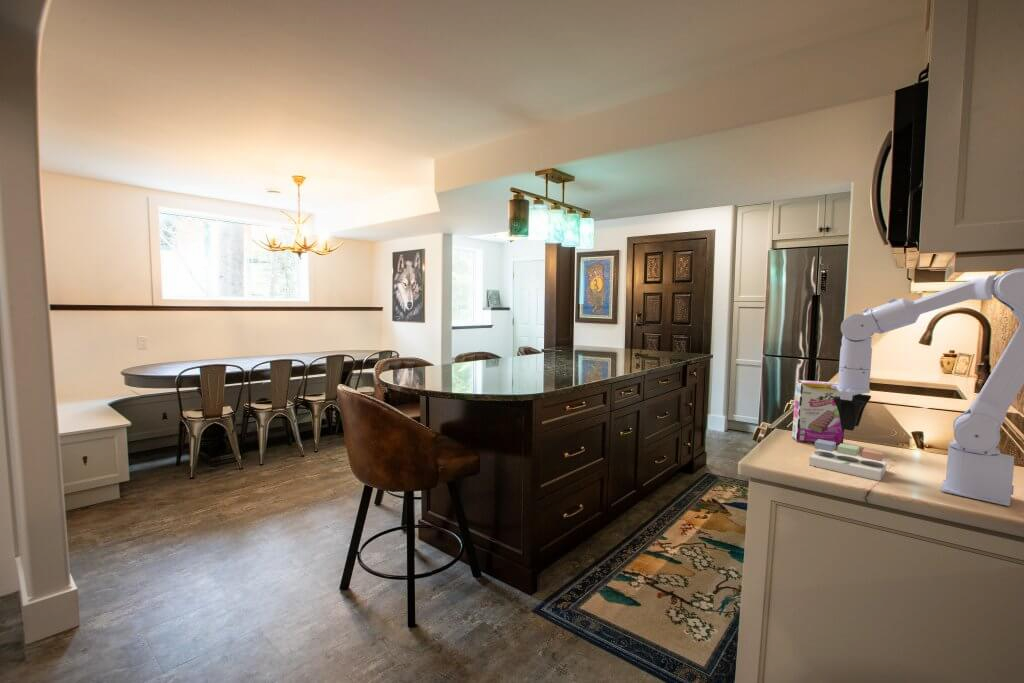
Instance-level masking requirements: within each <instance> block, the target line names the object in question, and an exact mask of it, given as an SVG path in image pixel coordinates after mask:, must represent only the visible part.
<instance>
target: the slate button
mask: <svg viewBox="0 0 1024 683" xmlns="http://www.w3.org/2000/svg"><path fill="white" fill-rule="evenodd" d="M836 446H837V445H836V442H832V441H826V440H821V439H818V440H817V441H815V443H814V449H817V450H818V449H821V450H826V451H831V452H832V451H835V449H836Z"/></svg>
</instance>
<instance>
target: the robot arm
mask: <svg viewBox="0 0 1024 683" xmlns="http://www.w3.org/2000/svg"><path fill="white" fill-rule="evenodd" d="M993 297H994V298H995V299H996V300H997V301H998V302H999V303H1001V304H1002V305H1004V306H1005V307H1007V308H1008V309H1009V310H1010V312H1011V313H1012V314H1013V316H1014V317H1015V319H1016V320H1017V322H1018V323H1019V325H1018V327H1017V328H1016V330H1015V331H1014V333H1013V336H1012V337H1011V339H1010V340H1009V342H1008V344H1007V346H1006V347H1005V348H1004V351H1003V353H1002V354H1001V356H1000V357H999V359H998V361H997V363H996V364H995V365H994V367H993V369H992V371H991V373H990V374H989V376H988V378H987V379H986V381H985V383H984V385H983V386H982V388H981V390H980V391H979V393H978V395H977V396H976V398H975V399H974V400H973V401H972V403H971V404H970V405H969V407H968V409H967V410H966V411H965V412H963V413H961V414H959V415H957V417H955V419H954V420H953V423H952V428H953V437H954V439H953V440H952V441H949V442H948V450H947V460H946V461H947V462H946V470H945V473H946V474H945V479H943V482H942V485H941V487H940V488H941V490H940V491H941V492H943V493H946V494H952V495H955V496H961V497H965V498H969V499H974V500H979V501H983V502H988V503H993V504H997V505H1001V506H1007V507H1010V506H1011V501H1012V500H1011V499H1012V498H1011V497H1012V496H1013V495H1014V490H1015V485H1014V484H1013V478H1014V469H1015V456H1013V455H1009V454H1005V453H1001V449H1000V448H998V447H997V446H998V445H999V444H1000V441H1001V432H1000V431H1001V426H1002V425H1003V424H1004V422H1005V419H1006V416H1007V414H1008V410H1009V409H1010V407H1011V406H1012V404H1013V402H1014V401H1015V400H1016V397H1018V394H1019V393H1020V391H1021V389H1022V388H1023V386H1024V268H1015V269H1011V270H1009V271H1006V272H1004V273H1003V274H1001V275H1000V273H997V274H991V275H986V276H983V277H978V278H974V279H970V280H967V281H964V282H962V283H959V284H957V285H954V286H951V287H948V288H945V289H941V290H940V291H937V292H935V293H932V294H929V295H926V296H924V297H921V298H919V299H915V300H910V299H907V298H904V297H902V298H898V299H896V297H893V298H891V299H888V300H887V303H884V304H882V305H879V306H875V307H872V308H869V309H868V308H867V307H866V308H863V309H862V310H861V311H862V312H861V313H852V314H851V315H849V316H847V317H845V319H843V320H842V322H841V324H840V332H841V334H842V335H843V336H842V338H841V346H840V350H839V351H840V352H839V366H838V378H837V379H838V380H837V381H838V382H837V383H838V385H832V386H831V388H833V389H837V390H838V391H840V392H841V394H840V396H841V397H838V396H835V397H834V398H833V400H834V402H835V404H836V406H837V409H838V412H839V416H840V423H841V427H842V429H844V431H845V430H846V431H851V432H853V431H854V430H855V427H859V426H860V423H861V421H862V417H863V413H864V410H865V408H866V407H867V404H868V403H869V401H870V400H871V399H872V396H871V395H869V394H870V393H871V388H870V382H871V381H870V380H871V370H872V369H871V368H872V367H871V366H872V358H873V356H872V355H873V348H872V343H873V342H872V341H873V337H872V336H874V334H879V335H881V334H884V333H888V332H892V331H894V330H898V329H901V328H903V327H908V326H909V325H913V324H915V323H917V321H918V319H919V317H920V316H921V315H923V314H925V313H929V312H932V311H935V310H940V309H942V308H946V307H949V306H952V305H956V304H959V303H962V302H965V301H966V302H967V301H968V300H973V301H974V300H976V301H977V300H978V301H990V300H993Z"/></svg>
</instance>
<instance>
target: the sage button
mask: <svg viewBox="0 0 1024 683" xmlns="http://www.w3.org/2000/svg"><path fill="white" fill-rule="evenodd" d="M860 448H861V447H860V446H857V445H853V444H846V443H843V444H842V443H841V444H840V445H837V450H836V452H837V453H841V454H846V455H851V456H859V454H860Z"/></svg>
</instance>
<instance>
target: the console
mask: <svg viewBox="0 0 1024 683" xmlns="http://www.w3.org/2000/svg"><path fill="white" fill-rule="evenodd" d="M808 458H809V459H808V466H810V465H811V466H812V467H815V466H816V468H821V469H825V470H829V471H833V472H838V473H843V474H845V475H851V476H856V477H861V478H865V479H870V480H873V481H879V482H880V481H881V479H882V478H883V476H884V475H885V473H886V472H887V465H888V462H887V461H884V460H882V462H881V461H876V460H871V459H866V458H862V456H859V455H857V456H851V455H846V454H841V453H837V451H835V450H833V451H832V452H831V451H826V450H821V449H817V450H816V451H814V453H812V454H811V455H810V456H809V457H808ZM811 466H810V467H811Z"/></svg>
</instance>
